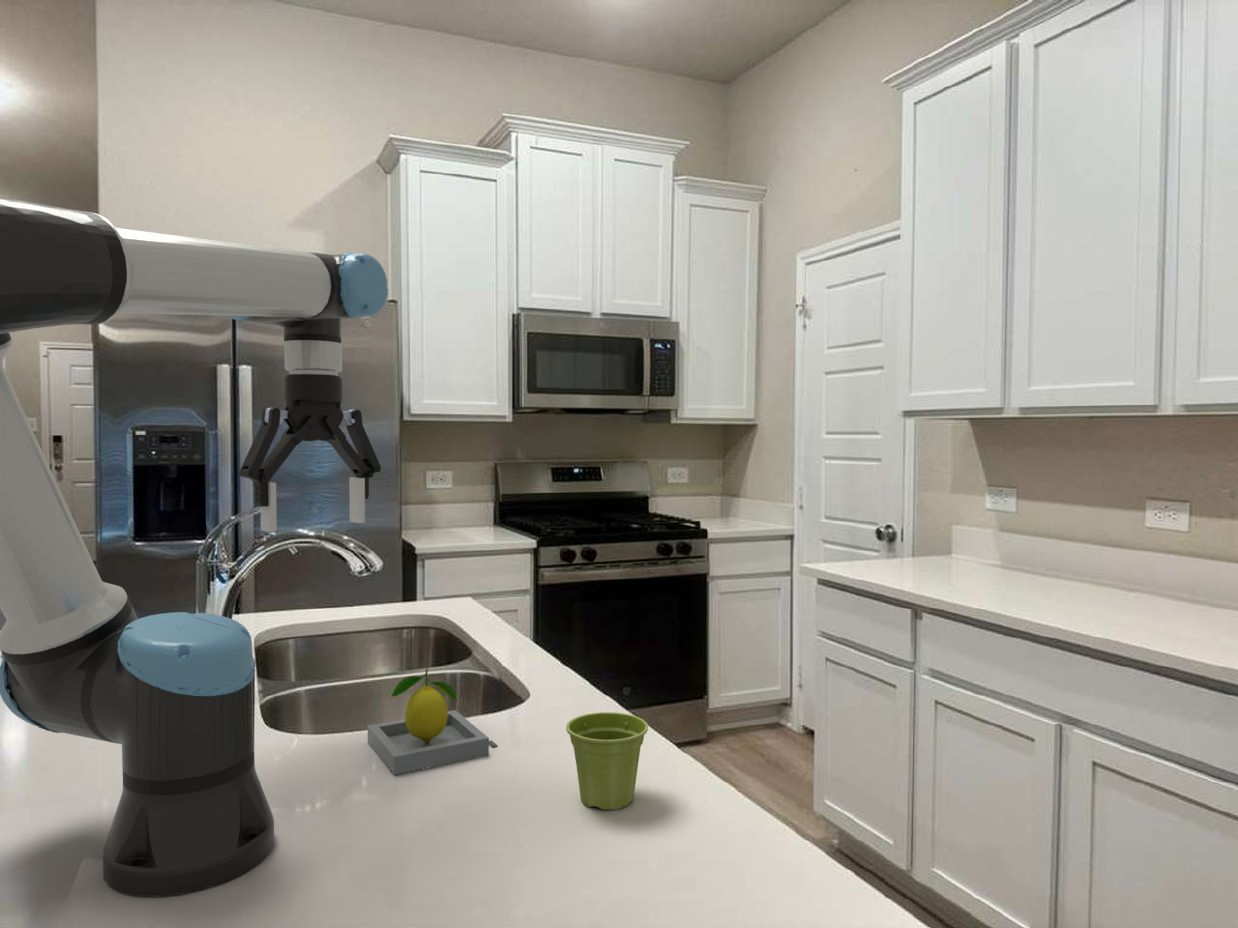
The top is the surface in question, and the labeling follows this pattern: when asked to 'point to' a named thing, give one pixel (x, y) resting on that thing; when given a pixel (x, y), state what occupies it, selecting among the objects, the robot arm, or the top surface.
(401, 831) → the top surface
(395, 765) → the dish
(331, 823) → the top surface
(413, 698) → the lemon
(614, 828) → the top surface
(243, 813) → the robot arm
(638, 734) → the plant pot
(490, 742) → the perforation strip
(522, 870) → the top surface
